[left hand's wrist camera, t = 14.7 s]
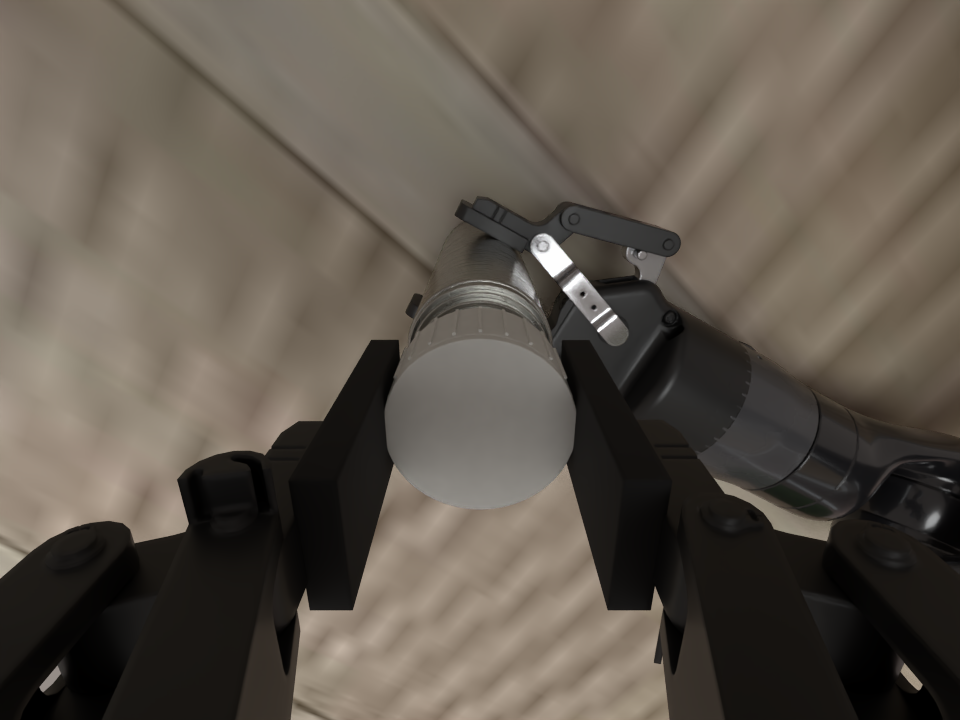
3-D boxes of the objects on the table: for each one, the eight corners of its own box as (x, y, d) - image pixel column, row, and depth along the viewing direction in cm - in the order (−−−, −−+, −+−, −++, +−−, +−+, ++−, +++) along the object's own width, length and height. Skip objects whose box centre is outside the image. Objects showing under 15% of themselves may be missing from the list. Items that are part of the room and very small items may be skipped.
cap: (413, 464, 15) (401, 520, 13) (382, 316, 14) (361, 350, 11) (568, 447, 15) (584, 500, 13) (556, 294, 13) (573, 324, 11)
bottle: (451, 209, 31) (401, 303, 11) (527, 229, 32) (606, 352, 12) (434, 285, 33) (366, 479, 13) (506, 302, 33) (546, 517, 14)
